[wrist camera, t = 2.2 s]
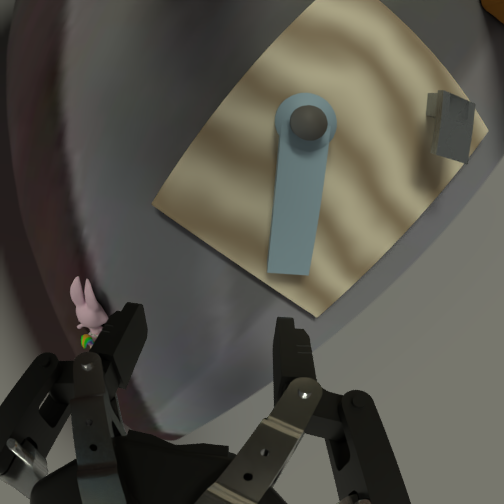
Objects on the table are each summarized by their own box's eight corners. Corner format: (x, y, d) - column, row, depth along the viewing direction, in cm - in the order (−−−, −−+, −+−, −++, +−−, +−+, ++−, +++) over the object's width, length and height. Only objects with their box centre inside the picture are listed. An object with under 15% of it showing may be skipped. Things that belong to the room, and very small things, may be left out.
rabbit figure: (123, 344, 41) (109, 274, 32) (111, 375, 36) (89, 310, 27) (89, 333, 41) (68, 263, 32) (75, 362, 36) (46, 295, 27)
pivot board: (315, 309, 35) (322, 341, 30) (156, 199, 29) (136, 218, 24) (480, 128, 23) (511, 136, 18) (341, -21, 18) (356, -42, 13)
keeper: (414, 147, 24) (435, 154, 20) (421, 90, 21) (443, 90, 18) (444, 155, 24) (467, 164, 20) (451, 102, 21) (475, 103, 18)
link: (276, 91, 22) (278, 89, 20) (333, 98, 22) (339, 97, 20) (261, 262, 30) (261, 272, 28) (310, 265, 30) (313, 275, 28)
